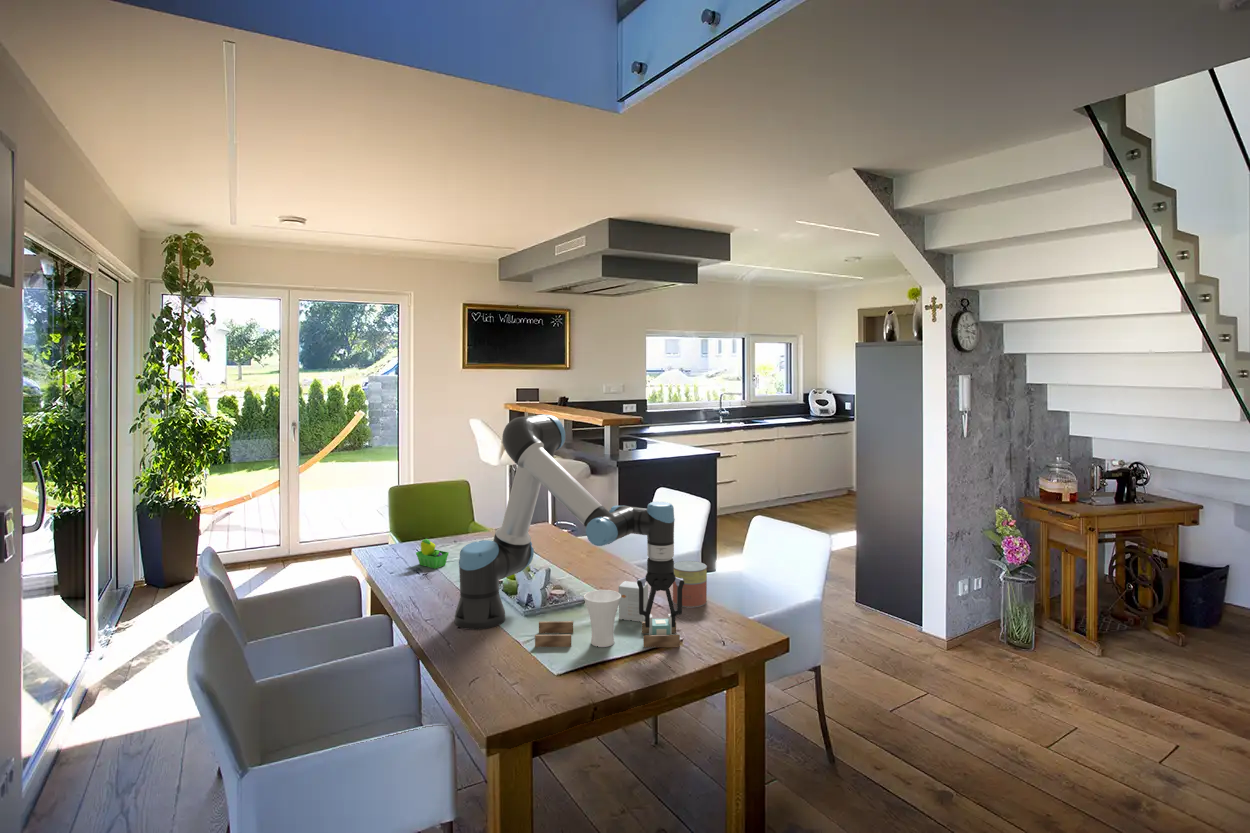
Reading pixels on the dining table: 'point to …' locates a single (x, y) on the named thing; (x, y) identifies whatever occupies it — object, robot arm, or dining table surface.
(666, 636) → the caddy right
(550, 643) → the caddy left
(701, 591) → the canned food
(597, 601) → the cup
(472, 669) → the dining table surface
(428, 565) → the fruit basket
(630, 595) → the small box
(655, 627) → the letter cube
